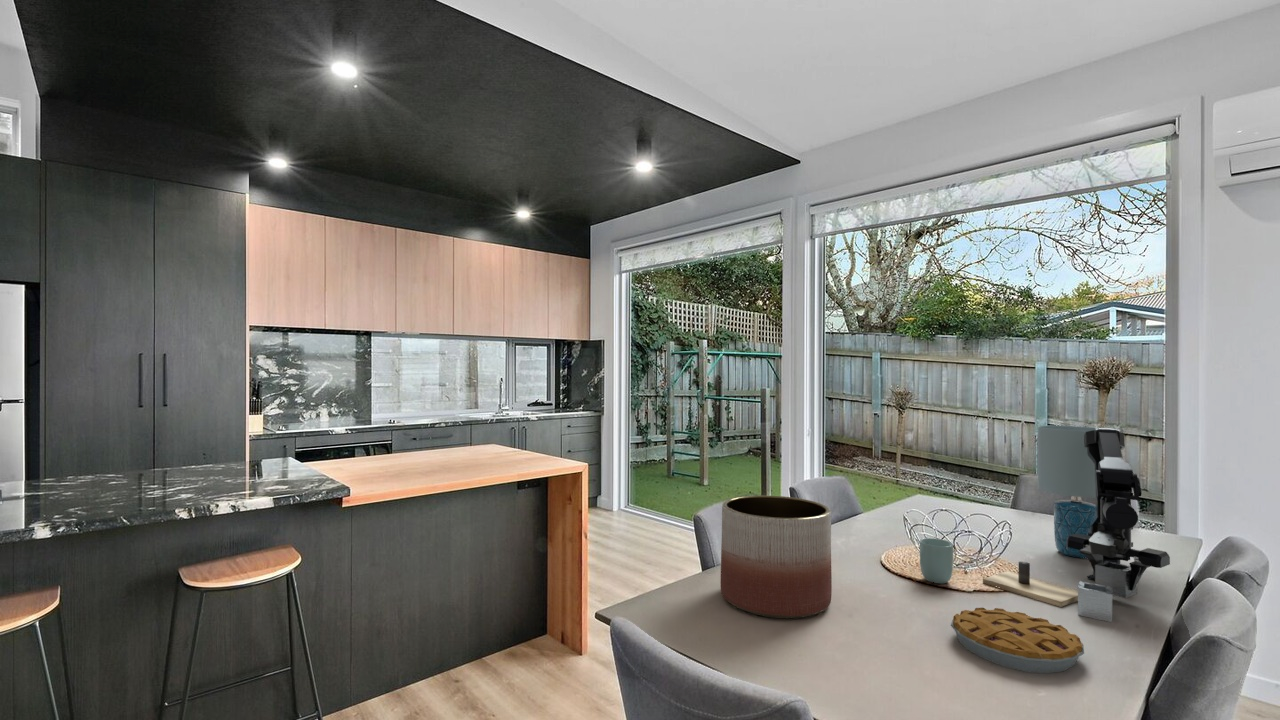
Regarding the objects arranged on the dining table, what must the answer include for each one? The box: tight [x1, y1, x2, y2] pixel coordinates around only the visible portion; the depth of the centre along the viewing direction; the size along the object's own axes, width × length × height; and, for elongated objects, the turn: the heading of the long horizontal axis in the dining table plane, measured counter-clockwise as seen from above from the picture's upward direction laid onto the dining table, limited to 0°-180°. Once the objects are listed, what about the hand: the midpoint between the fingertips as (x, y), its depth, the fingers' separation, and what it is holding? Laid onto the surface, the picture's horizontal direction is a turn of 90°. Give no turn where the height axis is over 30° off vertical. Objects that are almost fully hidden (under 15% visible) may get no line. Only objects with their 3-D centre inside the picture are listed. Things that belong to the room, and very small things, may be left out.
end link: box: [1094, 561, 1138, 599], centre depth 143 cm, size 6×6×6 cm
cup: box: [919, 537, 954, 584], centre depth 156 cm, size 8×8×10 cm
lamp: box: [1037, 425, 1099, 559], centre depth 181 cm, size 19×19×38 cm
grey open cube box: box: [1077, 580, 1113, 623], centre depth 136 cm, size 6×6×6 cm
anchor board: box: [982, 560, 1078, 608], centre depth 150 cm, size 12×18×6 cm, turn 31°
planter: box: [720, 495, 833, 619], centre depth 142 cm, size 25×25×22 cm
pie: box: [950, 607, 1085, 674], centre depth 118 cm, size 22×22×5 cm
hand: (1115, 586), depth 143 cm, fingers closed on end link, 6 cm apart
